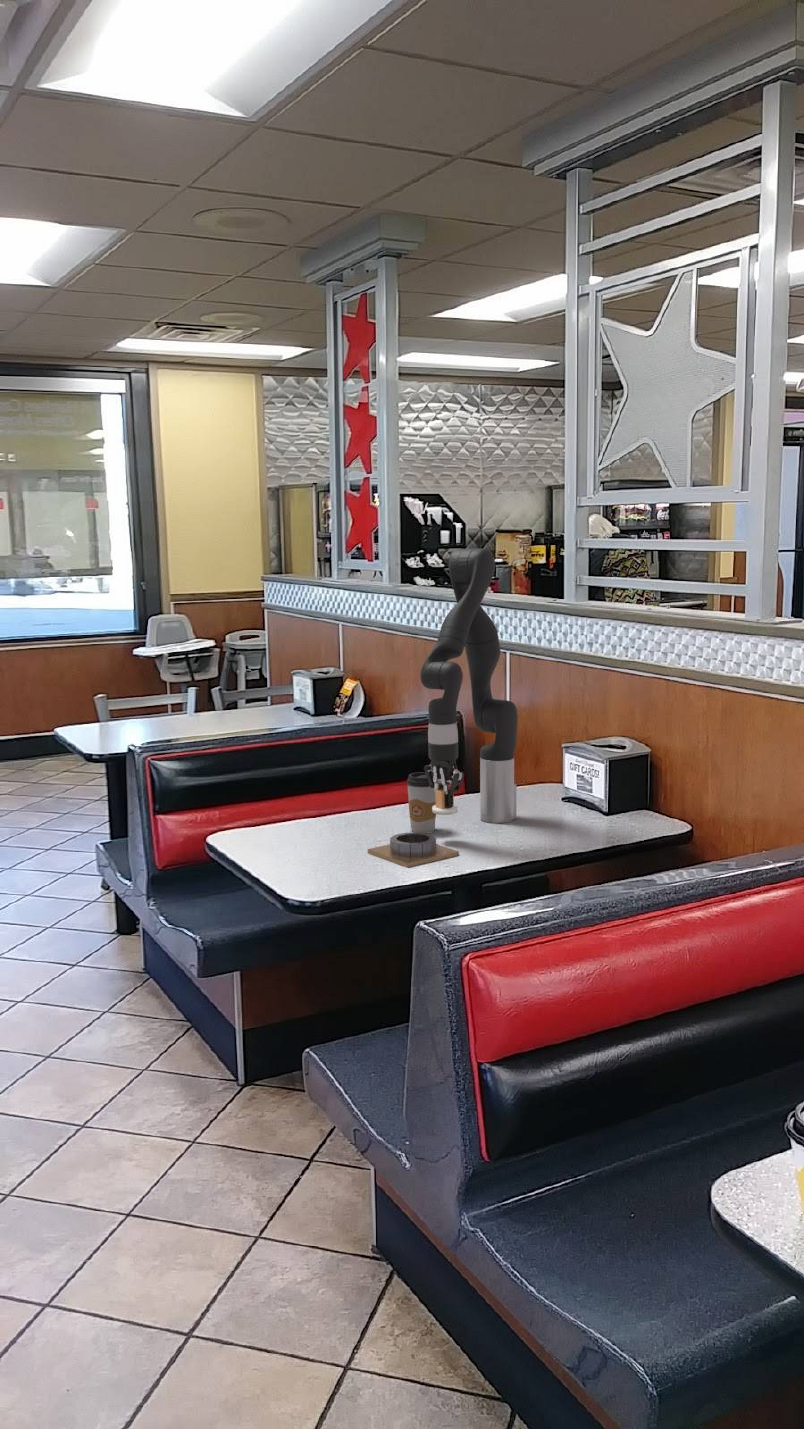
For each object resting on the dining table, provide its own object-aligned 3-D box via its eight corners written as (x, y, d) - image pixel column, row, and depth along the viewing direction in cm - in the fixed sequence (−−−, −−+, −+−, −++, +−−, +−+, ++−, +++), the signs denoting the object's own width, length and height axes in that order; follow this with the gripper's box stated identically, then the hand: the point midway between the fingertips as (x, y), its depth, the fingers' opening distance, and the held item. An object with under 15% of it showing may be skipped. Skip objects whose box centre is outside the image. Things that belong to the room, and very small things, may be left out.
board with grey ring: (418, 841, 285) (418, 826, 285) (459, 855, 273) (459, 839, 272) (367, 853, 276) (367, 837, 275) (407, 867, 263) (407, 851, 263)
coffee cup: (401, 832, 295) (401, 776, 292) (416, 825, 302) (415, 770, 300) (429, 835, 291) (429, 779, 289) (443, 828, 298) (443, 773, 296)
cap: (446, 806, 289) (445, 785, 288) (462, 811, 284) (462, 790, 283) (427, 811, 285) (426, 790, 284) (443, 816, 280) (442, 794, 279)
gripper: (472, 741, 278) (474, 809, 281) (436, 734, 289) (438, 799, 292) (449, 746, 273) (451, 814, 276) (414, 738, 284) (416, 804, 287)
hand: (444, 806), depth 284 cm, fingers closed on cap, 2 cm apart
